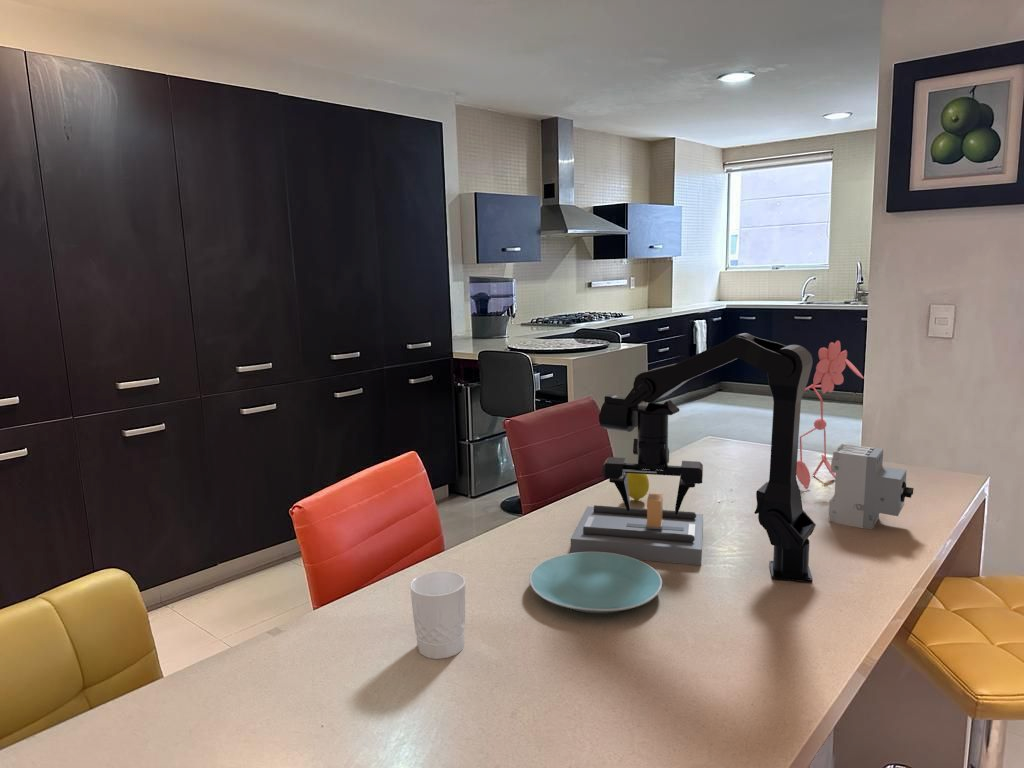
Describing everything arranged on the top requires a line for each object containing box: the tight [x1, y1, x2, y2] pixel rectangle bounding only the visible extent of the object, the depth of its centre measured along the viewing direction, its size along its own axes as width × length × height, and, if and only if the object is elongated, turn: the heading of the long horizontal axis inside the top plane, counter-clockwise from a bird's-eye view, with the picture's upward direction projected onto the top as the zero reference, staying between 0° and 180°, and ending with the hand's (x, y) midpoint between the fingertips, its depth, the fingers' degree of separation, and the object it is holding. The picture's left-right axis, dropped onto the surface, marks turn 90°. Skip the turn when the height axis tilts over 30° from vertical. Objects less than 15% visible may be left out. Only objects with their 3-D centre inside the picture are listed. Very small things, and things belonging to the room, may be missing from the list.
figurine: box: [796, 340, 865, 490], centre depth 161 cm, size 15×26×35 cm, turn 121°
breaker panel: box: [570, 506, 704, 566], centre depth 136 cm, size 18×24×3 cm
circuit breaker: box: [827, 443, 914, 531], centre depth 140 cm, size 8×14×15 cm, turn 53°
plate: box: [529, 552, 663, 614], centre depth 115 cm, size 22×22×3 cm
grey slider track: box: [583, 504, 697, 542], centre depth 135 cm, size 13×21×1 cm, turn 74°
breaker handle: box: [646, 492, 664, 529], centre depth 134 cm, size 4×3×6 cm
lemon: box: [628, 473, 650, 502], centre depth 158 cm, size 6×6×8 cm
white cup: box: [409, 570, 466, 660], centre depth 99 cm, size 8×8×10 cm
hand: (652, 512), depth 134 cm, fingers open, 9 cm apart
